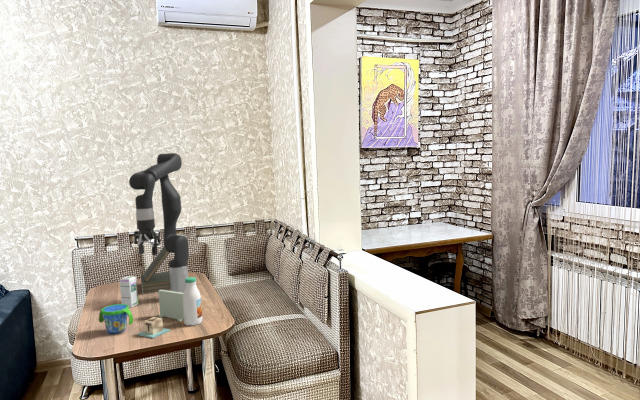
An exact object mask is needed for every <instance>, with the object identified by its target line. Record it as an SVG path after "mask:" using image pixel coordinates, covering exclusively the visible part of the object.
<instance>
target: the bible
mask: <svg viewBox="0 0 640 400" xmlns="http://www.w3.org/2000/svg"><path fill="white" fill-rule="evenodd" d="M170 254H171V253H170V252H167V251H166V249H165V247H164V246H163V247H162V248H161V250H160V251H159V252H158V253H157V255H155V258H154V259H153V260H152V261H151V263H150V264H149V265H148V267H147V268H146V270H145V271H144V272H143V274H141V275H140V281H141V282H140V284H141V295H142V296H143V295H149V293H150V294H155V292H157V293H158V290H167V291H171V289H170V275H169V271H162V272H157V271H158V270H159V268H160V267H161V265H162V264H163V263H164V262H165V260H166V259H167V257H168V256H169V255H170Z"/></svg>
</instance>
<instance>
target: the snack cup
mask: <svg viewBox="0 0 640 400" xmlns="http://www.w3.org/2000/svg"><path fill="white" fill-rule="evenodd" d="M128 318H129V319H128ZM98 322H99V323H103V322H104V326H105V330H106V332H107V334H119V333H122V332H125V331H126V329H127V325H129V326H131V325H133V323H134V317H133V313H132V312H131V309H130V308H129V306H128V305H126V304H122V303H117V304H110V305H107V306H104V307H103V308H101V310H100V311H99V314H98Z"/></svg>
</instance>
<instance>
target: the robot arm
mask: <svg viewBox="0 0 640 400" xmlns="http://www.w3.org/2000/svg"><path fill="white" fill-rule="evenodd" d="M182 161H183V160H182V158H181V155H179V154H178V153H175V152H169V153H159V154H158V155H157V157H156V164H153V165H150V166H149V167H147V168H146V169H144V170H141V171H137V172H134V173H133V174H132V175H130V178H129V180H128V183H129V187H130V188H131V189H133V190H135V191H136V190H137V191H138V190H139V191H141V190H143V191H144V192H143V193H142V194H140V195H137V196H135V198H134V199H135V218H136V229H137V230H134V232H133V239H134V242H133V243H134V245H137V247H138V253H139V254H140V255H143V254H145V246H144V243H145V242H147V243H148V244H150V245H151V254H152V256H157V255H158V254H159V252H158V246H160V245H161V236H160V234H161V233H160V231H155V230H154V229H155V227H156V223H155V212H154V206H153V205H154V203H153V202H154V201H153V195H154V190H155V185H156V182H157V181H158V182H159V183H160V194H161V207H162V214H163V247H165V249H166V251H167V252H170V253H169V254H174V256H173V258H172V259H170V260H169V262H168V272H169V275H170V289H171V291H174V292H181V293H184V291H185V288H186V284H185V279H186V278H188V277H189V269H188V268H189V267H188V263H189V255H190V253H189V240H188V238H187V237H186V236H185V235H181V234H177V223H178V220H179V217H180V216H181V212H182V201H181V199H182V198H181V196H180V193H179V192H178V191H177V189H176V188H175V186H174V185H173V184H172V182H171V181H170V177H169V174H172V173H175V172H178V171H179V170H181V169H182V165H183V162H182Z"/></svg>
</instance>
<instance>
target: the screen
mask: <svg viewBox="0 0 640 400" xmlns="http://www.w3.org/2000/svg"><path fill="white" fill-rule="evenodd" d="M157 293H158V302H159V303H158V304H159V305H158V306H159V315H158V318H162V319H163V318H170V319H176V321H177V322H182V321H183V322H184V313H183V294H184V293H181V292H174V291H167V290H158V292H157Z"/></svg>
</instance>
